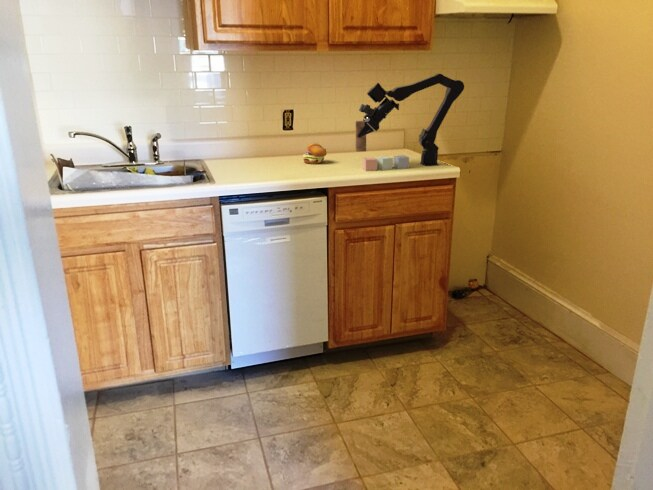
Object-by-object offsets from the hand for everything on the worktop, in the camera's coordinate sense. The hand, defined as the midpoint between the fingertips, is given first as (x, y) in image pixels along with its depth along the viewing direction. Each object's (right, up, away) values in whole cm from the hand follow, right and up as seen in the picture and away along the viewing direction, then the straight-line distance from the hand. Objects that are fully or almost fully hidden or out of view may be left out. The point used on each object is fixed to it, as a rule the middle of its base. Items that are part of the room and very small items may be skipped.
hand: (357, 136), depth 246 cm
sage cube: (+12, -15, -3) cm, 19 cm away
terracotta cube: (+5, -16, -5) cm, 17 cm away
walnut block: (+1, -6, +2) cm, 7 cm away
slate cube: (+19, -14, -1) cm, 24 cm away
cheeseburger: (-20, -10, +12) cm, 25 cm away
